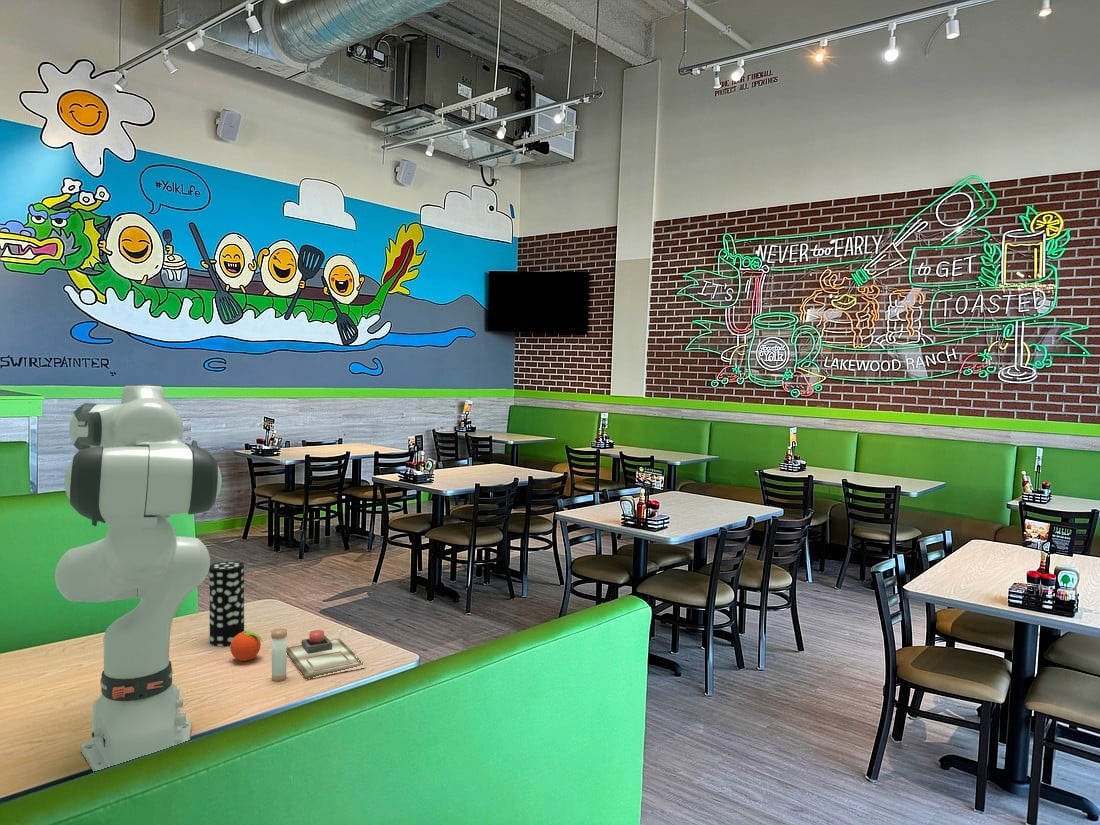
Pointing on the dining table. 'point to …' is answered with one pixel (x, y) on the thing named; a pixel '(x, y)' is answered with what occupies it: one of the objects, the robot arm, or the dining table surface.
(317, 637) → the button
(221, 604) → the spotted tube
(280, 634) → the cylinder
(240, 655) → the clementine
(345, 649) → the board
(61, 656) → the dining table surface
